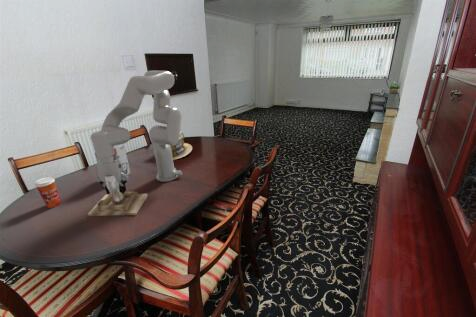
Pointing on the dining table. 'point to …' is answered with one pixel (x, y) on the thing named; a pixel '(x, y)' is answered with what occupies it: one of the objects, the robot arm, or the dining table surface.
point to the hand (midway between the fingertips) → (116, 192)
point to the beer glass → (114, 189)
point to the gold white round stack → (180, 148)
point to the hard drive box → (121, 157)
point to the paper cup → (48, 191)
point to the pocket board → (119, 205)
